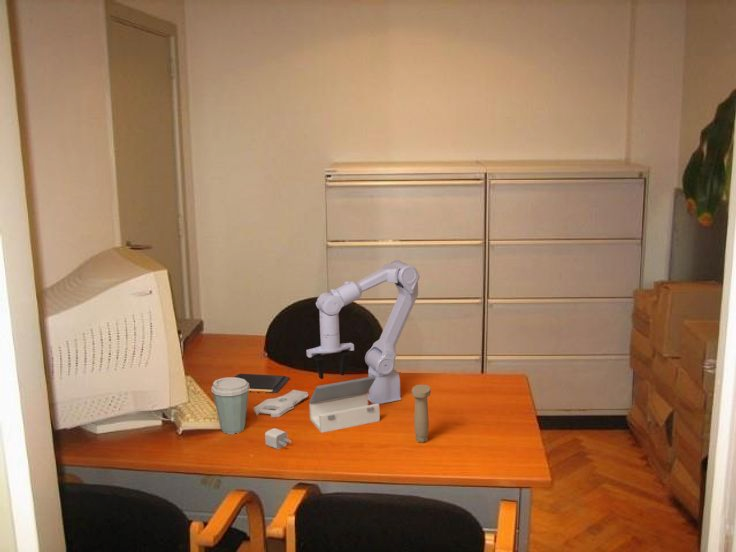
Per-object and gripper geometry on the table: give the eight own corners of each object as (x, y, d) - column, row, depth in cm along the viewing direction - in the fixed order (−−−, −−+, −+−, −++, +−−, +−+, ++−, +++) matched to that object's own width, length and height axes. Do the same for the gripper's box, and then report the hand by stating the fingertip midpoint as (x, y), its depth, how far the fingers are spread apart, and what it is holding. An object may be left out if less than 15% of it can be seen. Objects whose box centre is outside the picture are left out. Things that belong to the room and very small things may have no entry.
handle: (410, 444, 193) (409, 392, 190) (415, 434, 199) (415, 384, 196) (427, 446, 192) (427, 394, 188) (432, 436, 197) (432, 385, 194)
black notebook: (291, 374, 245) (276, 390, 231) (291, 379, 246) (276, 396, 231) (237, 371, 250) (218, 387, 235) (237, 376, 250) (219, 392, 236)
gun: (285, 384, 230) (310, 389, 226) (285, 393, 231) (311, 399, 226) (249, 407, 215) (275, 413, 210) (250, 417, 216) (276, 424, 211)
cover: (366, 394, 216) (365, 391, 216) (375, 378, 208) (374, 375, 208) (309, 404, 209) (309, 401, 210) (317, 389, 201) (316, 385, 201)
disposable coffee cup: (238, 419, 213) (235, 371, 209) (260, 429, 205) (256, 380, 202) (207, 430, 205) (203, 381, 202) (228, 441, 198) (225, 390, 195)
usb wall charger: (276, 440, 198) (275, 427, 197) (294, 447, 194) (293, 433, 193) (265, 446, 195) (264, 432, 194) (283, 452, 191) (282, 438, 190)
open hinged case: (366, 408, 218) (365, 393, 217) (380, 421, 208) (380, 405, 207) (310, 419, 211) (309, 403, 210) (322, 433, 201) (321, 417, 200)
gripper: (347, 326, 220) (348, 368, 223) (302, 332, 214) (304, 375, 217) (356, 332, 213) (357, 375, 216) (309, 339, 208) (312, 383, 211)
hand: (331, 376), depth 216 cm, fingers open, 6 cm apart
